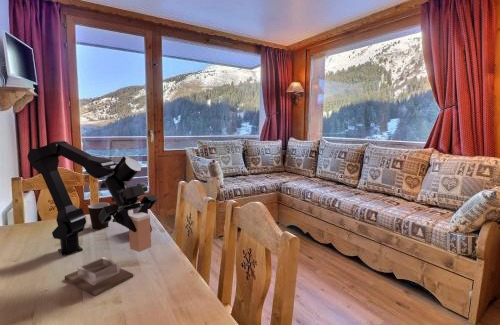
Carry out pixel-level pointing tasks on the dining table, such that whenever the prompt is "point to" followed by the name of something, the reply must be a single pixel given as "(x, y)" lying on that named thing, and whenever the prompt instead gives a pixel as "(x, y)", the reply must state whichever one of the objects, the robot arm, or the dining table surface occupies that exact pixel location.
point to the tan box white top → (140, 232)
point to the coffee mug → (97, 215)
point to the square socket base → (98, 276)
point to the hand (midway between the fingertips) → (142, 229)
